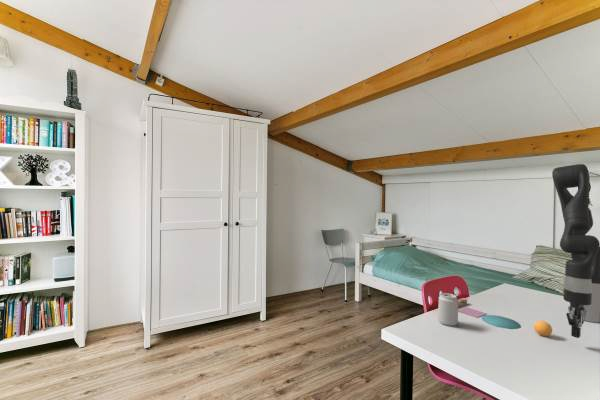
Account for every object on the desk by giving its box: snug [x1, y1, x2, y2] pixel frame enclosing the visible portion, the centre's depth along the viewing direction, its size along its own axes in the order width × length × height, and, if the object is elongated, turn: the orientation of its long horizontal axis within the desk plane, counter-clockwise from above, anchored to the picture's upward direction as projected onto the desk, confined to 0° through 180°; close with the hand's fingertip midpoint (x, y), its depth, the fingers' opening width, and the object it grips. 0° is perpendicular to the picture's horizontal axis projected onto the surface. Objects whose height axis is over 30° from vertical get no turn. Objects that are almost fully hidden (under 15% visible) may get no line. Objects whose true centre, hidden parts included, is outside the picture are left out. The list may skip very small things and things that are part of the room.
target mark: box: [481, 314, 522, 330], centre depth 130 cm, size 14×14×1 cm
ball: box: [533, 320, 553, 337], centre depth 118 cm, size 6×6×6 cm
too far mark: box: [458, 307, 488, 318], centre depth 140 cm, size 9×9×1 cm
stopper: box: [457, 297, 468, 308], centre depth 147 cm, size 20×2×2 cm, turn 124°
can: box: [437, 292, 459, 327], centre depth 127 cm, size 8×8×12 cm
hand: (575, 336), depth 109 cm, fingers closed
